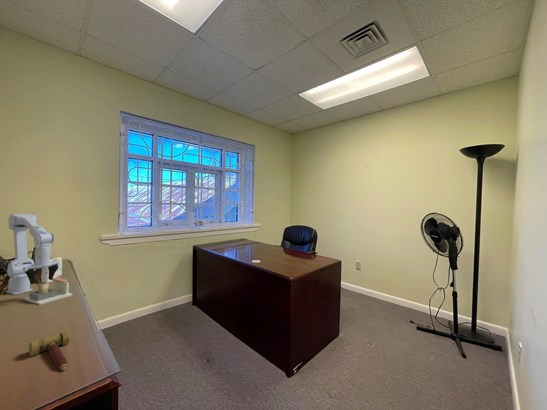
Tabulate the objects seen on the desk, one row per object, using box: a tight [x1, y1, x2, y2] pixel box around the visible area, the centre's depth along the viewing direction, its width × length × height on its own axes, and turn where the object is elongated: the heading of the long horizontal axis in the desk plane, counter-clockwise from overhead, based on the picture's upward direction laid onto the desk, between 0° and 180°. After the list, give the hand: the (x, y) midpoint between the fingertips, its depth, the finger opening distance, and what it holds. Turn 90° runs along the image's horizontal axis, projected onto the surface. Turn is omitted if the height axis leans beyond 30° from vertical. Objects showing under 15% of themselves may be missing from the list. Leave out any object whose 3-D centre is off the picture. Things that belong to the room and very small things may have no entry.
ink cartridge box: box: [41, 256, 63, 284], centre depth 152 cm, size 9×5×15 cm, turn 168°
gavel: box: [28, 330, 71, 372], centre depth 79 cm, size 21×5×10 cm
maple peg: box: [37, 282, 50, 294], centre depth 124 cm, size 4×4×7 cm
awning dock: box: [23, 277, 73, 306], centre depth 126 cm, size 14×14×8 cm
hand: (41, 281), depth 124 cm, fingers open, 7 cm apart
